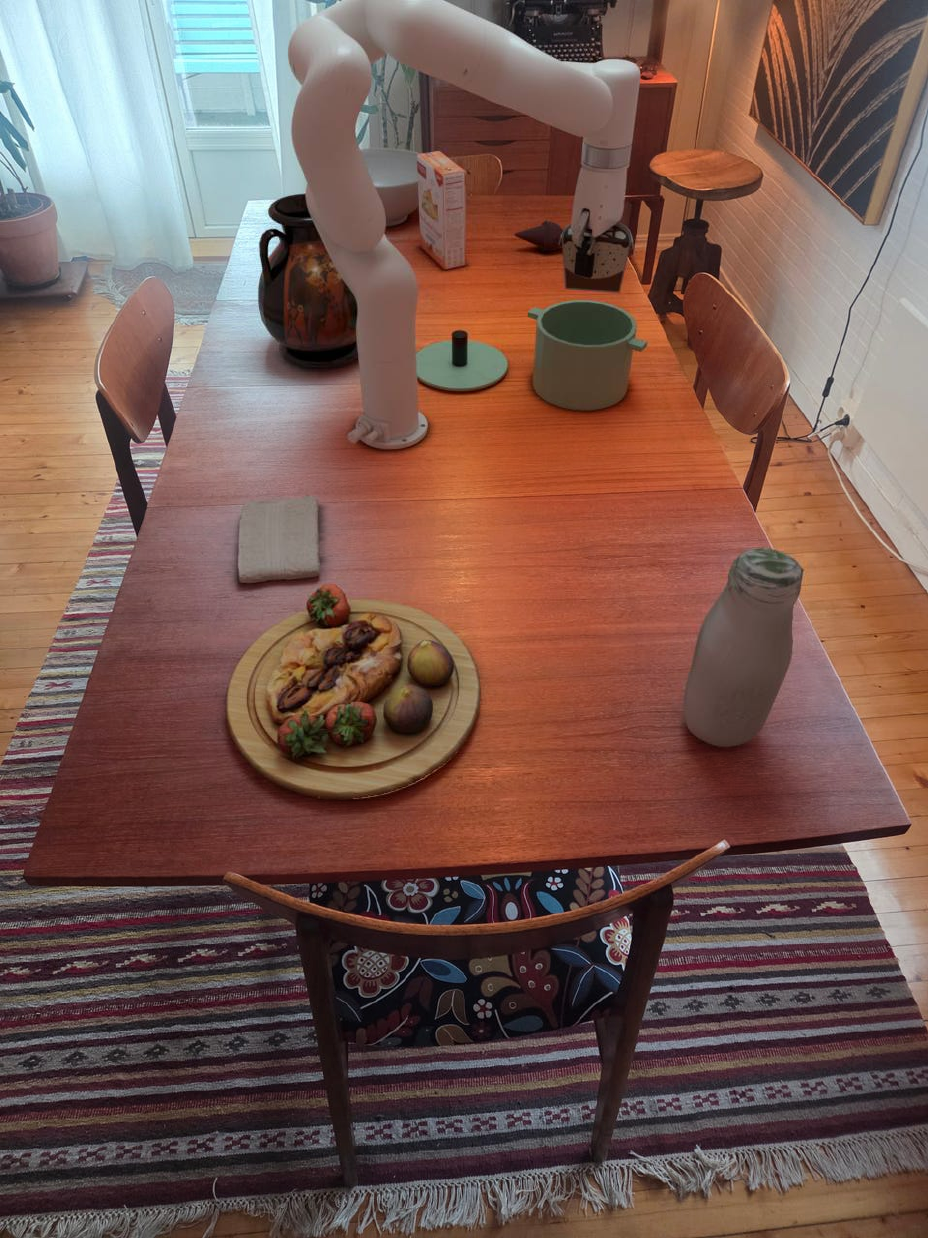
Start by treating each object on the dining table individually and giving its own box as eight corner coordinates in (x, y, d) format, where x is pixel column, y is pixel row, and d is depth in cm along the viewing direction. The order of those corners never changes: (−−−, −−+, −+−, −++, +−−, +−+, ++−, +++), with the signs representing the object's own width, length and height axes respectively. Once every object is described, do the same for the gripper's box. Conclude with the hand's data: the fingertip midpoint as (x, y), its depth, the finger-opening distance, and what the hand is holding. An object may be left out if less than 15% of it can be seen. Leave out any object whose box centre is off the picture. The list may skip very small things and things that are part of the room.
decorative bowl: (339, 243, 210) (334, 190, 202) (321, 202, 228) (316, 152, 220) (447, 232, 215) (447, 180, 207) (422, 192, 233) (420, 143, 225)
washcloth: (319, 504, 140) (317, 488, 137) (323, 580, 127) (321, 564, 125) (243, 511, 138) (239, 495, 136) (240, 589, 126) (236, 573, 124)
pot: (612, 425, 156) (622, 361, 147) (503, 387, 165) (505, 324, 156) (655, 382, 166) (666, 320, 157) (550, 348, 175) (555, 287, 166)
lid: (473, 404, 161) (473, 368, 155) (392, 374, 168) (390, 339, 163) (525, 362, 171) (527, 327, 166) (447, 336, 178) (447, 302, 173)
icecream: (518, 231, 200) (582, 235, 202) (515, 210, 204) (579, 214, 206) (513, 257, 206) (576, 261, 208) (511, 236, 210) (572, 240, 211)
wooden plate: (242, 614, 122) (231, 570, 116) (470, 604, 124) (471, 560, 118) (212, 813, 100) (196, 771, 94) (491, 797, 101) (493, 754, 96)
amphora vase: (343, 316, 184) (329, 174, 164) (397, 359, 172) (389, 211, 152) (248, 344, 176) (222, 198, 156) (297, 392, 163) (275, 240, 143)
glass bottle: (744, 696, 112) (806, 526, 92) (766, 762, 105) (838, 593, 85) (667, 698, 112) (713, 527, 92) (684, 764, 105) (737, 595, 85)
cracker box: (418, 247, 209) (415, 152, 194) (441, 243, 211) (440, 149, 196) (442, 271, 200) (441, 173, 185) (466, 266, 202) (467, 169, 187)
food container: (631, 273, 153) (638, 218, 145) (628, 293, 150) (635, 237, 142) (561, 268, 155) (563, 213, 147) (556, 288, 151) (558, 232, 144)
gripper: (610, 134, 143) (598, 245, 156) (557, 165, 133) (548, 280, 146) (652, 143, 140) (636, 255, 153) (601, 175, 130) (588, 292, 143)
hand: (593, 266), depth 149 cm, fingers closed on food container, 6 cm apart
